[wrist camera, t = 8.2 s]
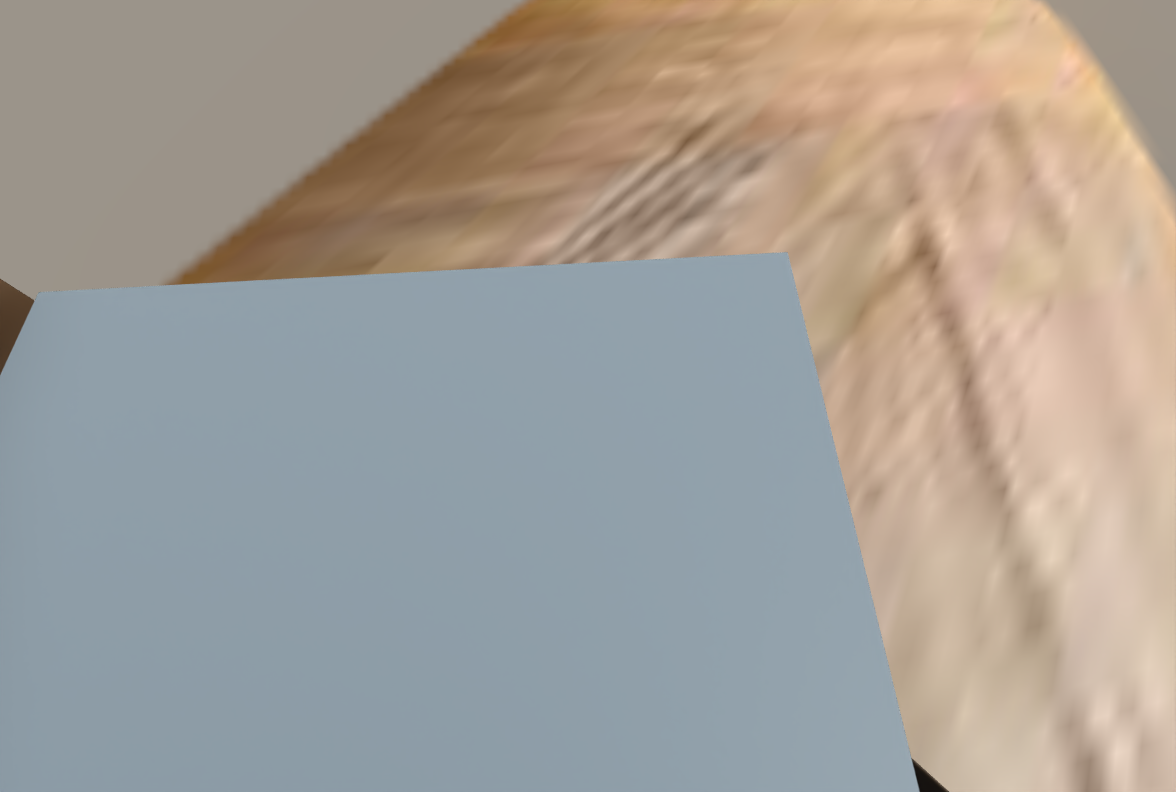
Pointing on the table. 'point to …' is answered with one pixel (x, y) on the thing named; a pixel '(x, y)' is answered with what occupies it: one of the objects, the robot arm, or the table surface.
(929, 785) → the robot arm
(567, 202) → the table surface
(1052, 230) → the table surface
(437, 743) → the blue-gray rectangular box
